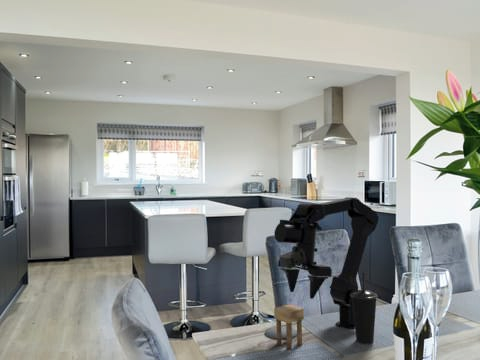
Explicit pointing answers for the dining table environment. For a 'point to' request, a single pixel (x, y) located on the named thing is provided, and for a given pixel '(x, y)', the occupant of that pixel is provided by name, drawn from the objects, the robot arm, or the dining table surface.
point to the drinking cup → (364, 313)
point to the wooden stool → (289, 323)
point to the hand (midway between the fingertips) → (301, 295)
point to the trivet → (272, 332)
